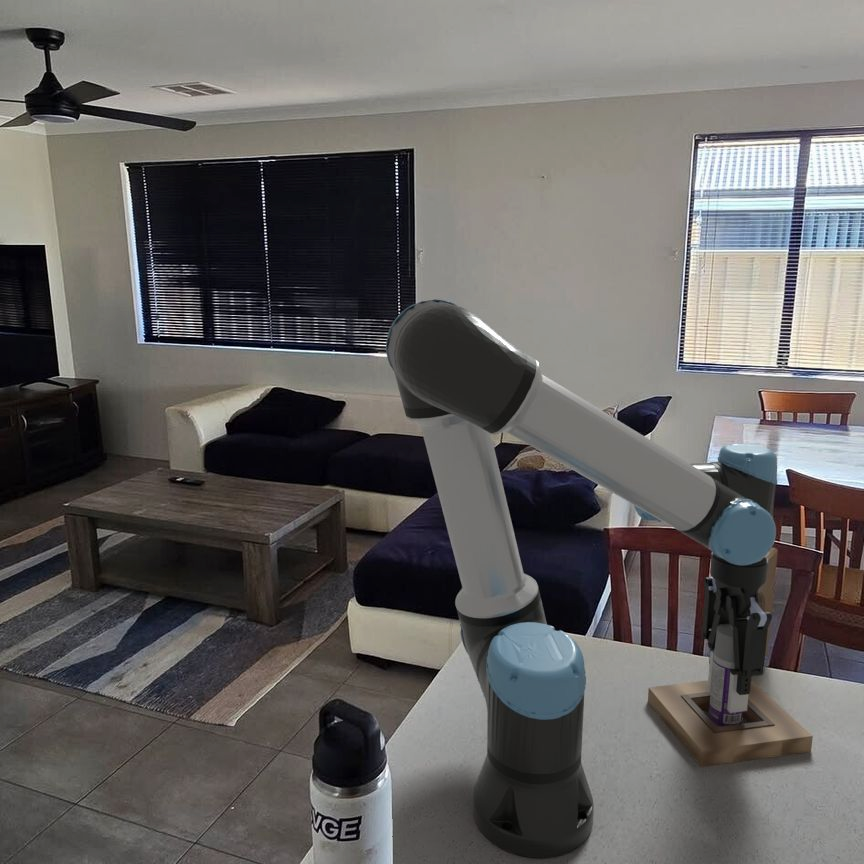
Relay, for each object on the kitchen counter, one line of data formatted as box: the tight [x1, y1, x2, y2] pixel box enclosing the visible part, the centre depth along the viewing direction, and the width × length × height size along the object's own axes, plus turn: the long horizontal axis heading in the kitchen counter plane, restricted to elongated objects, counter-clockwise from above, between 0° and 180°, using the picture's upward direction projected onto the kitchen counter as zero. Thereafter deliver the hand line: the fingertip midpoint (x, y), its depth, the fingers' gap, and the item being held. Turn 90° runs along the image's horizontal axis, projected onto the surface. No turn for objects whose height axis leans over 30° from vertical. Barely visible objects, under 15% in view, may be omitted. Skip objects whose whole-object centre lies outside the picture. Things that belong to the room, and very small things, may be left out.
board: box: [647, 679, 814, 768], centre depth 113 cm, size 17×16×3 cm
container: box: [708, 624, 744, 727], centre depth 111 cm, size 5×5×15 cm
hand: (726, 699), depth 112 cm, fingers closed on container, 5 cm apart
